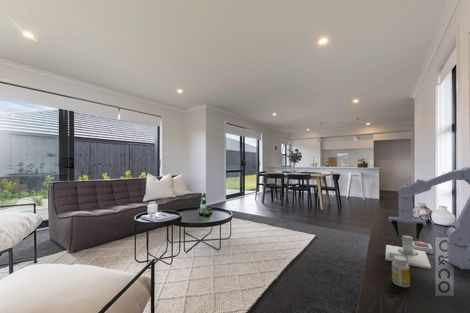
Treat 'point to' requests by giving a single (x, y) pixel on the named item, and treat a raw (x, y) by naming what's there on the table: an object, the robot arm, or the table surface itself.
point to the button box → (423, 248)
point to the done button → (421, 244)
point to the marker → (407, 244)
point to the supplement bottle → (400, 272)
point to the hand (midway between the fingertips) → (407, 237)
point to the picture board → (408, 256)
